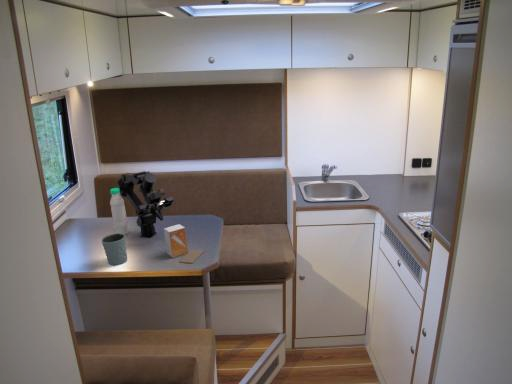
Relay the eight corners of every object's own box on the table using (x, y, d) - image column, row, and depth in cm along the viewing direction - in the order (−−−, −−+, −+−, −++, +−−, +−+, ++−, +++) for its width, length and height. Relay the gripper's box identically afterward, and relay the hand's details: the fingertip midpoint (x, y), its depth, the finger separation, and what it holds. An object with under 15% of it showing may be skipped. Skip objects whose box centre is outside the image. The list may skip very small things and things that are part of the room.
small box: (172, 258, 200) (168, 232, 196) (166, 253, 205) (163, 228, 201) (188, 253, 204) (185, 227, 200) (182, 248, 209) (179, 223, 205)
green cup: (132, 257, 204) (128, 233, 200) (121, 267, 194) (117, 242, 191) (113, 256, 206) (109, 232, 203) (101, 266, 197) (96, 242, 193)
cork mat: (179, 262, 195) (179, 261, 195) (191, 250, 206) (191, 249, 206) (192, 263, 193) (192, 262, 193) (204, 251, 204) (204, 250, 204)
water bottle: (119, 237, 228) (111, 191, 221) (113, 233, 233) (105, 189, 226) (131, 233, 233) (124, 188, 225) (125, 229, 238) (118, 186, 230)
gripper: (134, 189, 203) (148, 217, 198) (169, 180, 214) (183, 206, 209) (129, 201, 211) (143, 228, 206) (164, 192, 222) (177, 217, 217)
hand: (162, 220), depth 209 cm, fingers closed
